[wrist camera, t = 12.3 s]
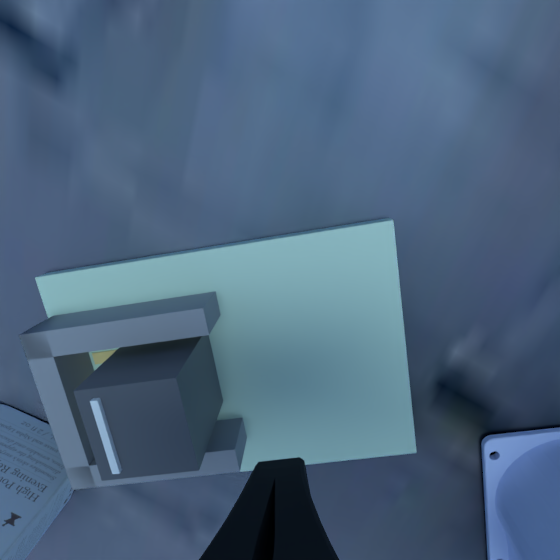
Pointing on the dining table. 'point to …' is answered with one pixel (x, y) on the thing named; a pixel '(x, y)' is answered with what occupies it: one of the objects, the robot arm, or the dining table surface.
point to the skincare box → (28, 482)
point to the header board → (245, 345)
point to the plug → (151, 408)
